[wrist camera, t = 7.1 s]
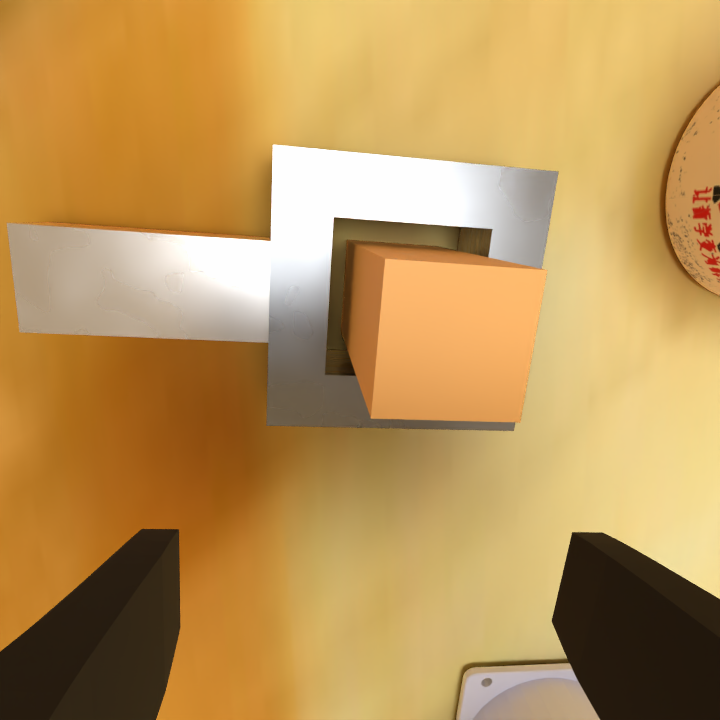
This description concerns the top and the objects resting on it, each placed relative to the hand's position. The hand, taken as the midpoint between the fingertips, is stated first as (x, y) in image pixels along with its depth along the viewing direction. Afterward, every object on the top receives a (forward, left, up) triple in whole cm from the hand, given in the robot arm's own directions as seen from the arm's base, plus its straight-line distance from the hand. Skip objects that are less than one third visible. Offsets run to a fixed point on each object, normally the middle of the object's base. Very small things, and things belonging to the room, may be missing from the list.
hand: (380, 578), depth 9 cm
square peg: (-1, -4, -10) cm, 11 cm away
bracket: (+2, -4, -10) cm, 11 cm away
